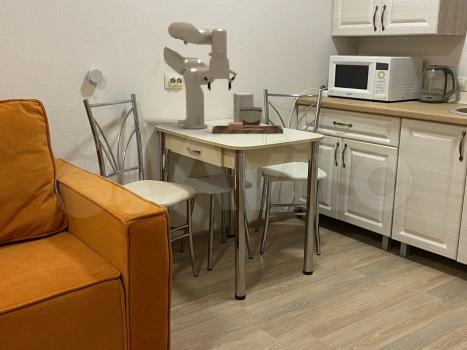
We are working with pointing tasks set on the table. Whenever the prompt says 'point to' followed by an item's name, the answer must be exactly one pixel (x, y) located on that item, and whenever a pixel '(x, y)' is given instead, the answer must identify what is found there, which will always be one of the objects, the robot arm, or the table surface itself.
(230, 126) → the block
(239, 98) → the supplement box
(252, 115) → the food container
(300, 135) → the table surface
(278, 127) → the track
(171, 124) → the table surface
